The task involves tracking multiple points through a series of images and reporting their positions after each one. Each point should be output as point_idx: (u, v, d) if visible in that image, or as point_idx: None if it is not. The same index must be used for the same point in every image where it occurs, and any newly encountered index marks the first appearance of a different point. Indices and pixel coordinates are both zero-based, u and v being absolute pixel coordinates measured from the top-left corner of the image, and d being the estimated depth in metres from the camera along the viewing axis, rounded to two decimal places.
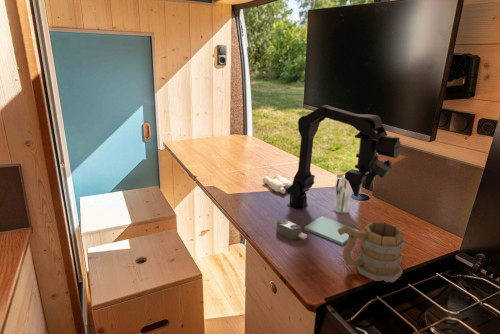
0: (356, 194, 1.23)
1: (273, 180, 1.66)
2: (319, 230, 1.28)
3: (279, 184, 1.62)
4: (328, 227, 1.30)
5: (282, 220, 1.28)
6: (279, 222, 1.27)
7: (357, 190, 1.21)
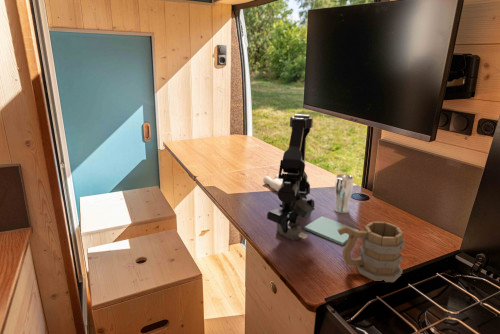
0: (284, 230, 1.24)
1: (274, 180, 1.67)
2: (319, 230, 1.28)
3: (280, 184, 1.62)
4: (328, 227, 1.30)
5: None
6: None
7: (285, 227, 1.23)
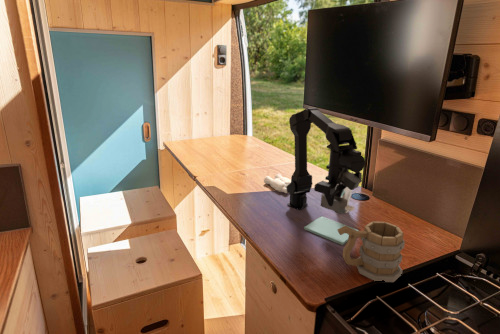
0: (330, 203, 1.23)
1: (275, 180, 1.67)
2: (319, 230, 1.28)
3: (281, 184, 1.63)
4: (328, 227, 1.30)
5: None
6: (324, 196, 1.26)
7: (331, 200, 1.22)
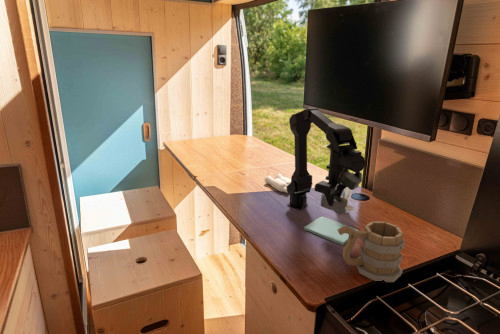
0: (330, 203, 1.23)
1: (276, 179, 1.67)
2: (319, 230, 1.28)
3: (282, 183, 1.63)
4: (328, 227, 1.30)
5: None
6: (324, 196, 1.26)
7: (331, 200, 1.22)
